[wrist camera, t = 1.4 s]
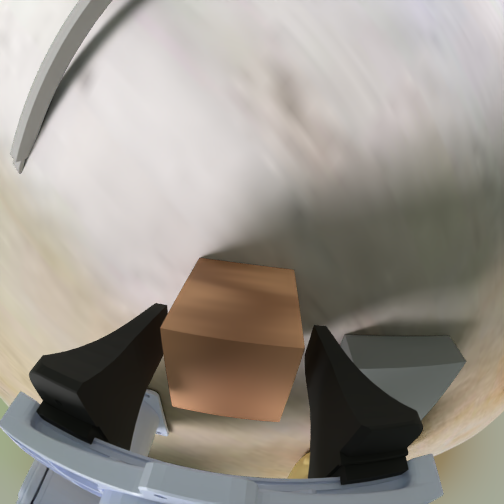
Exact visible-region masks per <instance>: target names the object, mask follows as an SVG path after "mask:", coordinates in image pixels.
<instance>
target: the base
mask: <svg viewBox="0 0 504 504" xmlns="http://www.w3.org/2000/svg"><path fill="white" fill-rule="evenodd" d="M341 348H342V349H343V350H344V352H345V353H346V354H347V356H348V357H349V358H350V359H351V361H352V362H353V363H354V364H355V365H356V366H357V367H358V369H359V370H360V371H361V372H362V373H363V374H364V375H365V376H366V377H367V378H369V379H370V380H371V381H372V382H373V383H374V384H375V385H377V386H378V387H379V388H380V389H382V390H383V391H384V392H385V393H387V394H388V395H390V396H391V397H393V398H394V399H396V400H397V401H399V402H401V403H402V404H404V405H406V406H408V407H410V408H412V409H414V410H416V411H417V412H418V415H419V417H420V420H422V419H423V418H424V417H425V415H426V414H427V413H428V412H429V411H430V410H431V408H432V407H433V406H434V405H435V404H436V402H437V401H438V400H439V399H440V397H441V396H442V395H443V394H444V392H445V391H446V390H447V388H448V387H449V386H450V384H451V383H452V382H453V380H454V379H455V377H456V376H457V375H458V373H459V372H460V370H461V369H462V367H463V366H464V364H465V363H466V360H465V359H464V357H463V356H462V354H461V352H460V351H459V349H458V348H457V346H456V345H455V343H454V342H453V341H452V339H451V338H450V336H366V335H344V338H343V341H342V343H341ZM310 420H311V414H310Z"/></svg>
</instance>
